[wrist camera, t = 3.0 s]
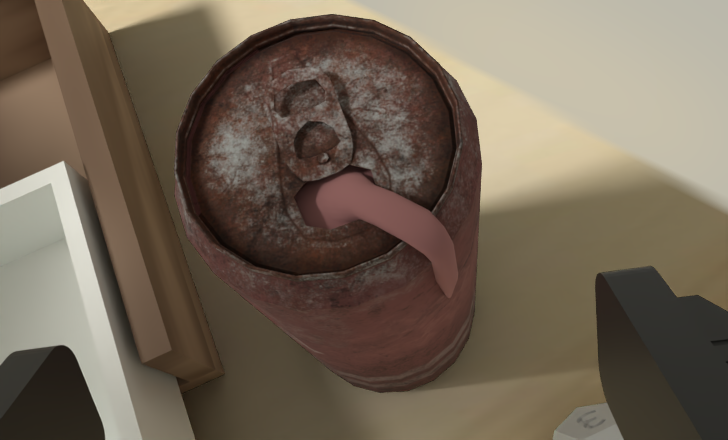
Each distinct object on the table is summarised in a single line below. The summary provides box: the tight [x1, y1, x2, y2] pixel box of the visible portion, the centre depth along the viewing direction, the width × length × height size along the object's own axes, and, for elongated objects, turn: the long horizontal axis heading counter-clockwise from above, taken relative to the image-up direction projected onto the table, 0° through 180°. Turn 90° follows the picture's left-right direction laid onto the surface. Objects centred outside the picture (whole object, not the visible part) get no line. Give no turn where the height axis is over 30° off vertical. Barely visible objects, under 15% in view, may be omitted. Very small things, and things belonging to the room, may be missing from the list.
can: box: [174, 14, 482, 393], centre depth 19 cm, size 6×6×14 cm
